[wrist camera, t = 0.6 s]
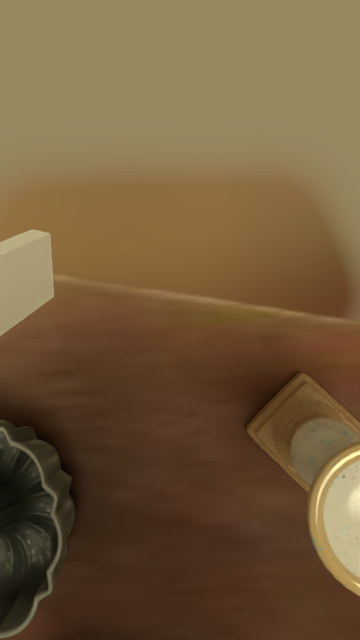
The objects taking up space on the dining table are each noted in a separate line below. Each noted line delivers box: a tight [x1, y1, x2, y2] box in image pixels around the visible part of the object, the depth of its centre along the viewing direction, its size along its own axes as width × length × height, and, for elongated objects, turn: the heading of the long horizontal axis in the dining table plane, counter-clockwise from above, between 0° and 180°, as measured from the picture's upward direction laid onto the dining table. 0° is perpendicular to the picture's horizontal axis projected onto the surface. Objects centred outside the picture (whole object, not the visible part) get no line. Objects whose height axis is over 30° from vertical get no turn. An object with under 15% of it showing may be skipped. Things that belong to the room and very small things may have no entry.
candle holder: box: [246, 372, 360, 596], centre depth 33 cm, size 11×11×24 cm
